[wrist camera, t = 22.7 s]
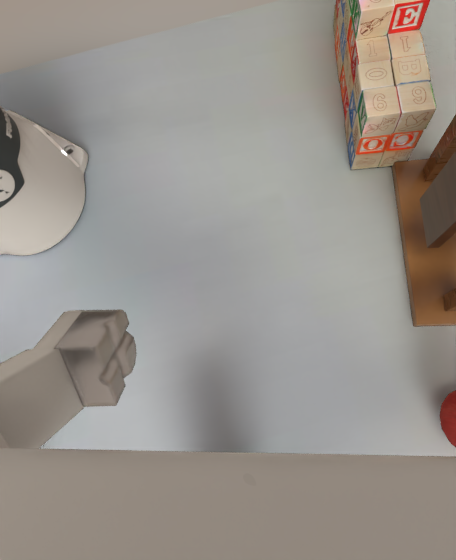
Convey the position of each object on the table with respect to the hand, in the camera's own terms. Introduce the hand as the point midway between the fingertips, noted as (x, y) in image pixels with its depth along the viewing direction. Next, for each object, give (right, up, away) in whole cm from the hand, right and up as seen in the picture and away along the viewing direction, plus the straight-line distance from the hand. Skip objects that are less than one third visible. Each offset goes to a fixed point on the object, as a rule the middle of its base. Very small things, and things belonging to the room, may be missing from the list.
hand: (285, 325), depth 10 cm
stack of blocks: (+15, +24, +37) cm, 47 cm away
